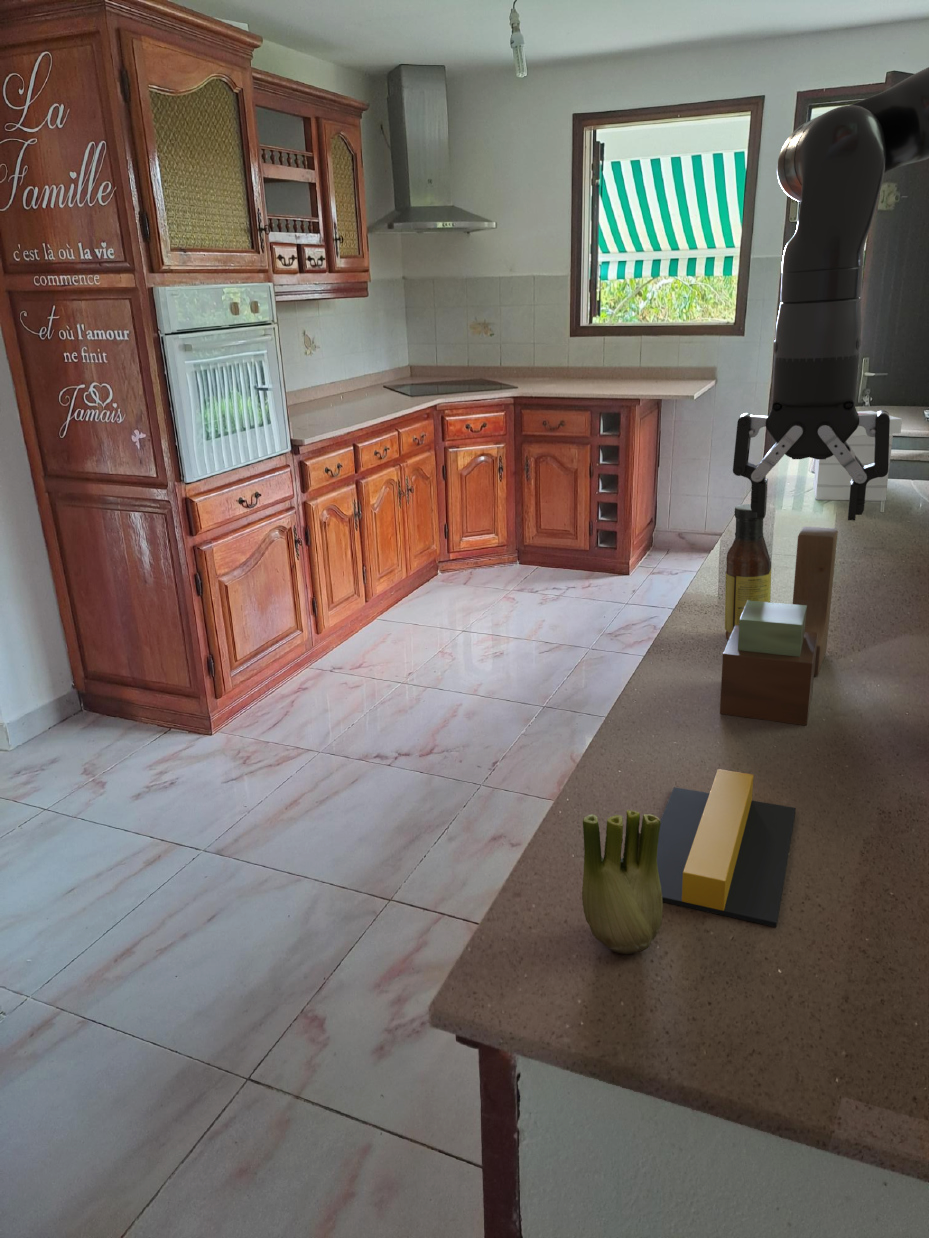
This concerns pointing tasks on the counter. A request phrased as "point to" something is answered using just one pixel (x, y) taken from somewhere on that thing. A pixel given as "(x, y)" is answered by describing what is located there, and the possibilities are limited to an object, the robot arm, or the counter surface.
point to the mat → (756, 862)
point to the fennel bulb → (622, 882)
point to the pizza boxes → (835, 478)
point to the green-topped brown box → (769, 664)
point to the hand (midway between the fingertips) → (805, 517)
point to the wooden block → (815, 582)
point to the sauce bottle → (746, 567)
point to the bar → (718, 840)
